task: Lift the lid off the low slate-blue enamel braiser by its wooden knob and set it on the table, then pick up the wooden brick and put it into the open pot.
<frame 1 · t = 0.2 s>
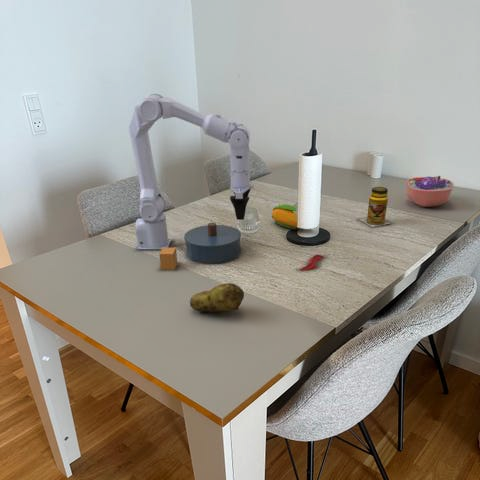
hand: (241, 215, 144), 10 cm above the table, tool pointing down, fingers open, 7 cm apart
pot: (213, 252, 145), on the table
pot lid: (212, 236, 142), point 5 cm above the table, touching pot
cell model: (425, 205, 179), on the table
corn: (295, 228, 161), on the table
cayenne pepper: (312, 264, 136), on the table
condiment: (374, 222, 164), on the table
potato: (218, 312, 114), on the table
wooden brick: (169, 266, 137), on the table
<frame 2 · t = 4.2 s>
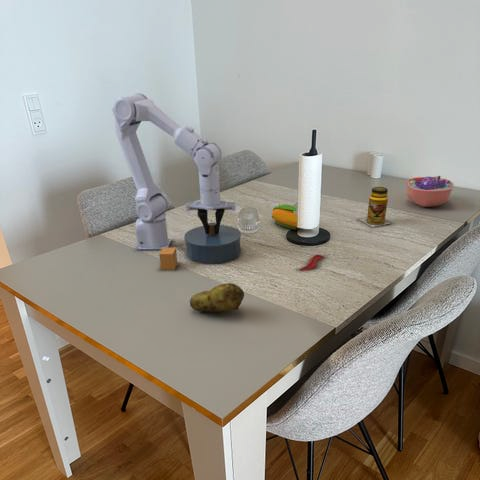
hand: (212, 233, 141), 6 cm above the table, tool pointing down, fingers closed on pot lid, 2 cm apart
pot lid: (212, 236, 142), point 5 cm above the table, touching gripper, pot
everything else where it was.
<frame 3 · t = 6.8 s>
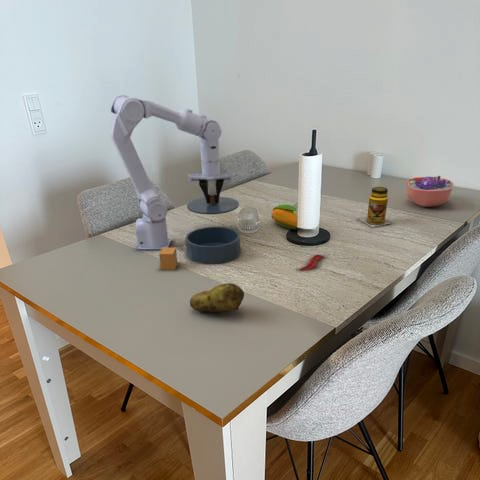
hand: (212, 202, 154), 10 cm above the table, tool pointing down, fingers closed on pot lid, 2 cm apart
pot lid: (213, 205, 154), point 9 cm above the table, touching gripper
everything else where it was.
when the fingers open (2 cm above the table, at t = 9.5 s): pot lid stays where it is, point 1 cm above the table.
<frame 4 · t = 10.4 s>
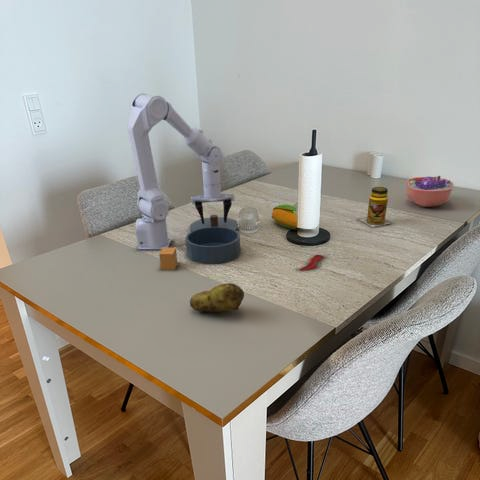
hand: (214, 222, 161), 2 cm above the table, tool pointing down, fingers open, 7 cm apart
pot lid: (214, 226, 162), point 1 cm above the table
everything else where it was.
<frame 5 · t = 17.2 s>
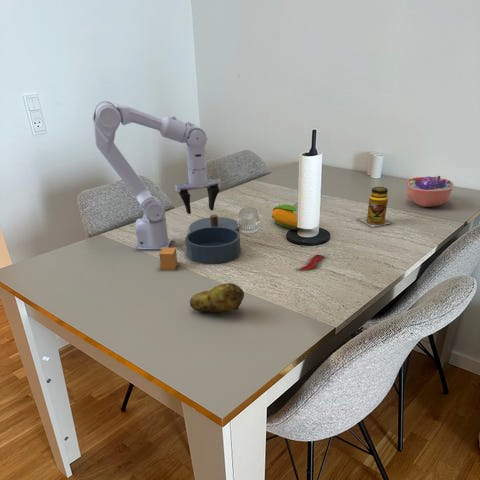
hand: (200, 211, 150), 9 cm above the table, tool pointing down, fingers open, 7 cm apart
nothing on the table moved.
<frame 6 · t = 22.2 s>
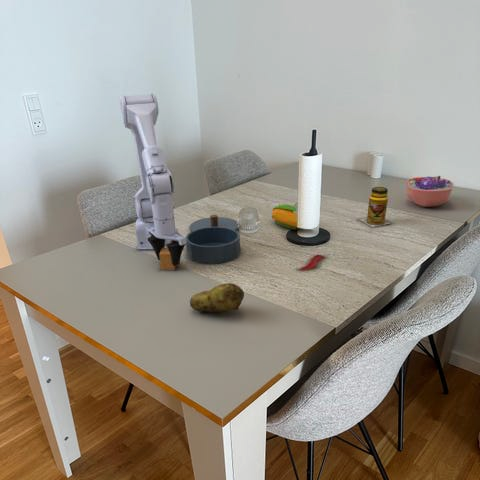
hand: (168, 262, 136), 1 cm above the table, tool pointing down, fingers closed on wooden brick, 6 cm apart
wooden brick: (169, 266, 137), on the table, touching gripper
everything else where it was.
when the fingers open (2 cm above the table, at t = 27.8 s): wooden brick stays where it is, resting on pot.
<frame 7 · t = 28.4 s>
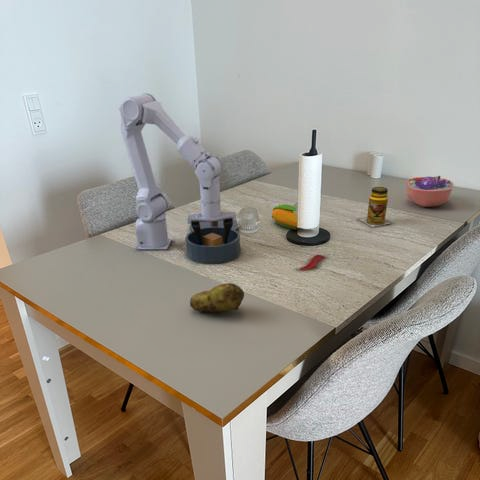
hand: (213, 243, 143), 3 cm above the table, tool pointing down, fingers open, 7 cm apart
wooden brick: (213, 251, 144), resting on pot
everything else where it was.
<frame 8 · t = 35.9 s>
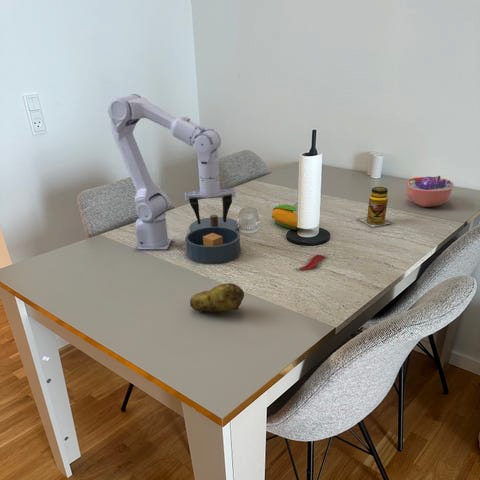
hand: (211, 222, 139), 10 cm above the table, tool pointing down, fingers open, 7 cm apart
nothing on the table moved.
at the end: pot lid inside the target area (0.0 cm from its centre), point 0.6 cm above the table; wooden brick inside the target area in the pot (0.0 cm from its centre), point 0.4 cm above the pot's base; the gripper is holding nothing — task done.
